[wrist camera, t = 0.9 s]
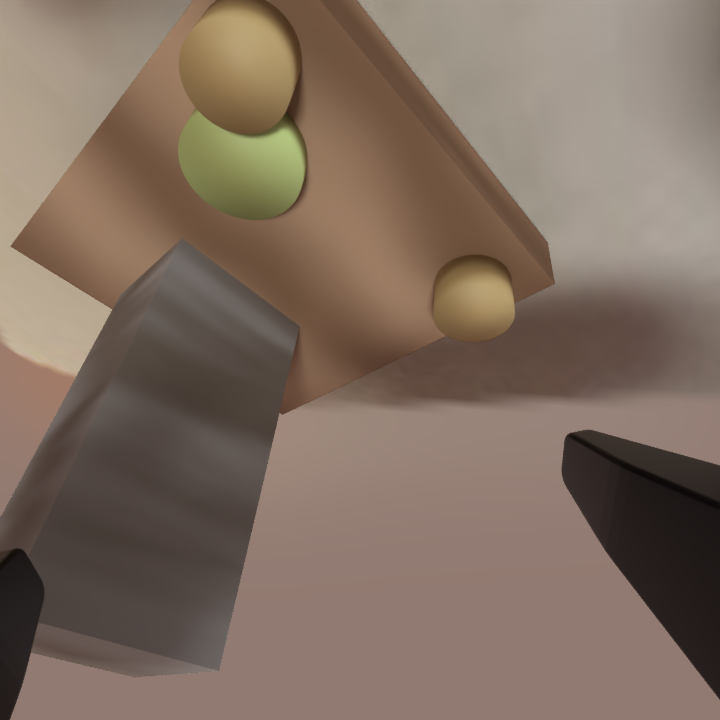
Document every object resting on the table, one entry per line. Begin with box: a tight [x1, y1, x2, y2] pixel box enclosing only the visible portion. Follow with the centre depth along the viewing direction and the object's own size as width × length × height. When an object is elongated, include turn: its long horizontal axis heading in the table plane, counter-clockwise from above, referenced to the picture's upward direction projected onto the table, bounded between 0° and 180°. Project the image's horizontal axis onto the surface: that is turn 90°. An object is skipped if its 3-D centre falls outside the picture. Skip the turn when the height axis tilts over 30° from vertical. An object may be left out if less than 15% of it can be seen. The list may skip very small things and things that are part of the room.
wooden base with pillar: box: [0, 0, 555, 677], centre depth 15 cm, size 13×12×13 cm
